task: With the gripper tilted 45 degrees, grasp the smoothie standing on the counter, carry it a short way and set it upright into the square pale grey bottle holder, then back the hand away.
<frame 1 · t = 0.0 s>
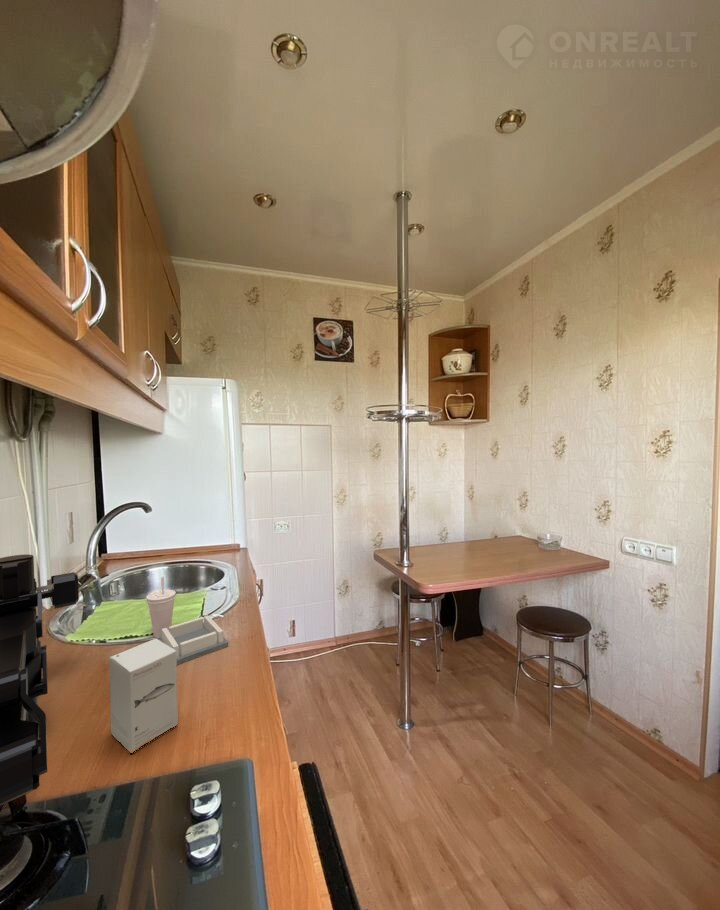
hand: (19, 587, 78), 17 cm above the worktop, tool horizontal, fingers open, 9 cm apart
smoothie: (162, 634, 91), on the worktop
bottle holder: (192, 645, 86), on the worktop
supplement box: (145, 731, 60), on the worktop
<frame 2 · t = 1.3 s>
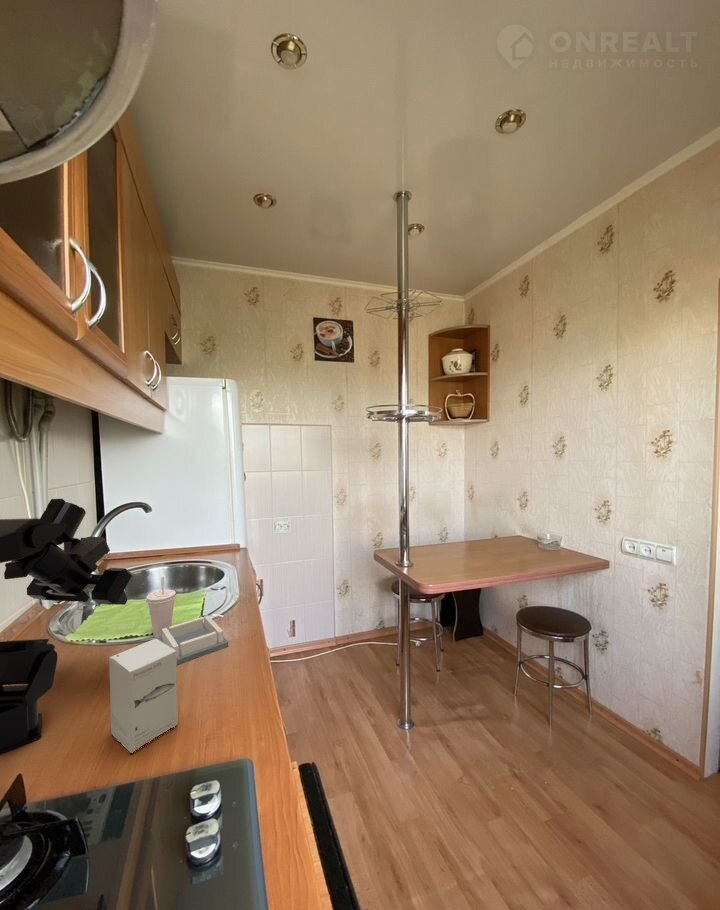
hand: (106, 600, 78), 14 cm above the worktop, tool tilted 45°, fingers open, 9 cm apart
nothing on the worktop moved.
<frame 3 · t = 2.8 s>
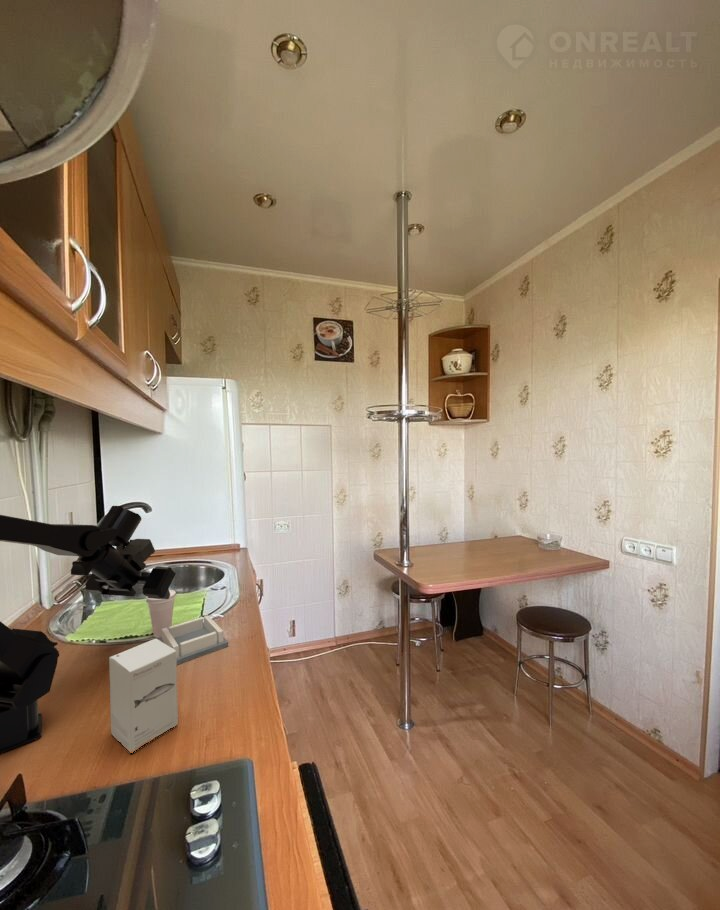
hand: (151, 595, 88), 11 cm above the worktop, tool tilted 45°, fingers open, 9 cm apart
nothing on the worktop moved.
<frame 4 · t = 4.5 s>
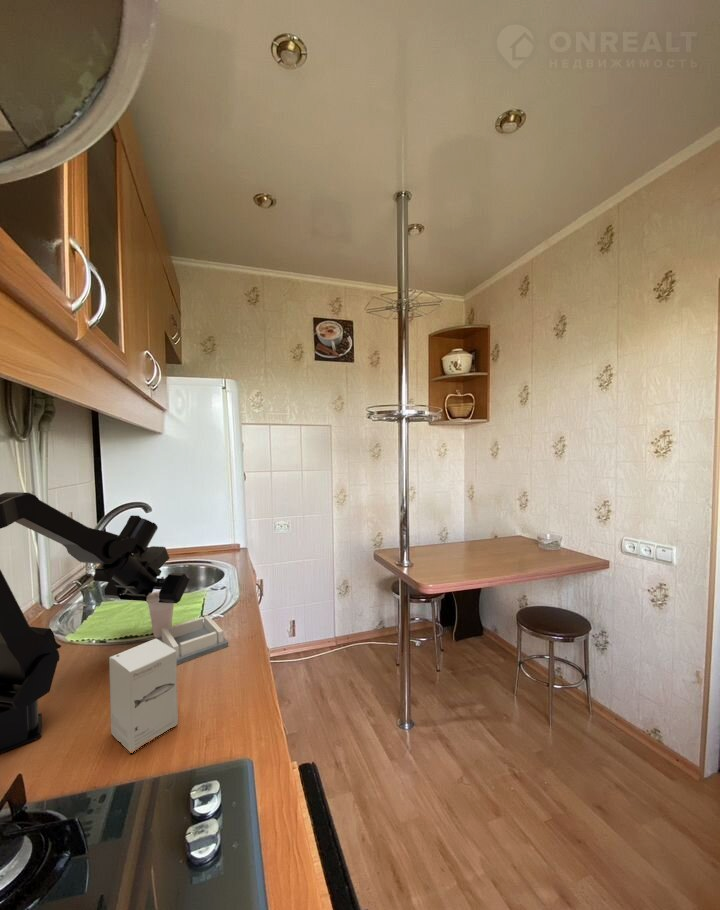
hand: (165, 600, 92), 8 cm above the worktop, tool tilted 45°, fingers closed on smoothie, 6 cm apart
smoothie: (162, 634, 91), on the worktop, touching gripper
everything else where it was.
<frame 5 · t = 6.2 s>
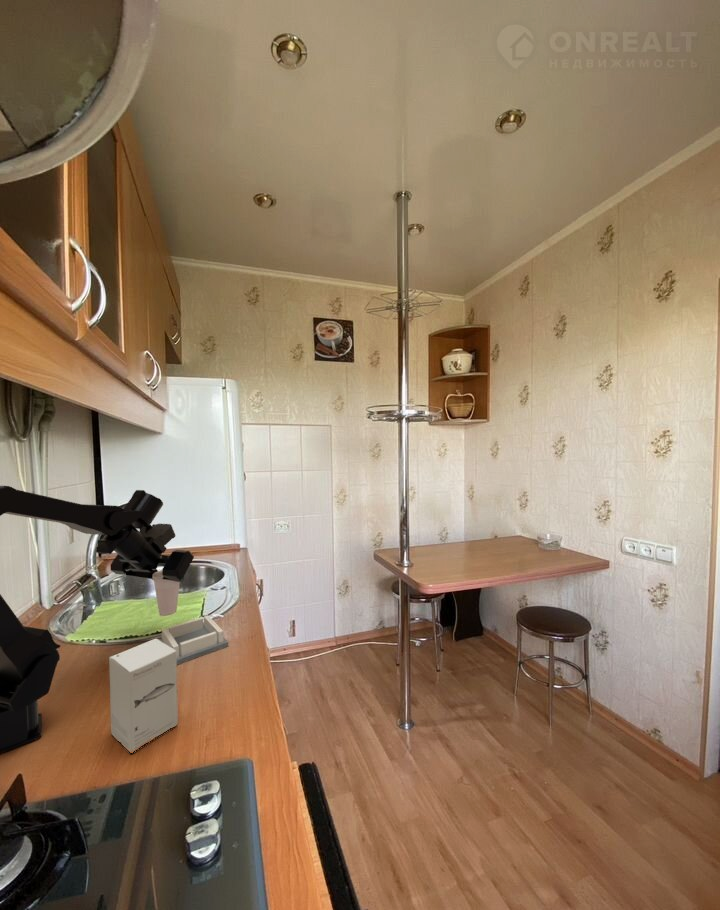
hand: (171, 579, 91), 13 cm above the worktop, tool tilted 45°, fingers closed on smoothie, 6 cm apart
smoothie: (167, 613, 90), point 5 cm above the worktop, touching gripper
everything else where it was.
when the fingers open (10 cm above the worktop, at t = 8.2 s): smoothie drops 1 cm, resting on bottle holder.
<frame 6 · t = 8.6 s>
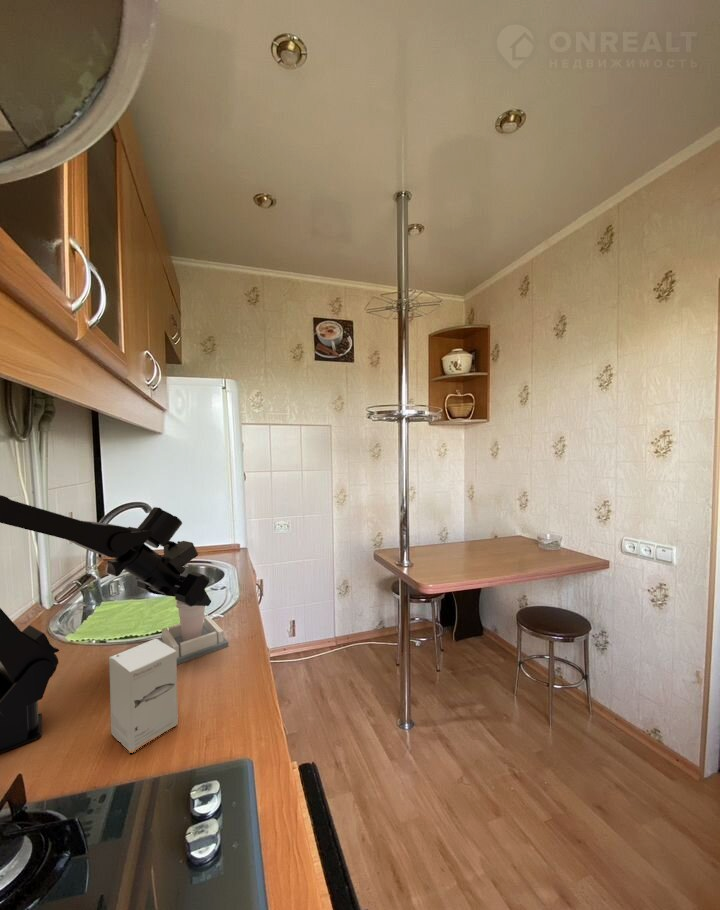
hand: (196, 599, 87), 10 cm above the worktop, tool tilted 45°, fingers open, 9 cm apart
smoothie: (192, 641, 85), point 1 cm above the worktop, touching bottle holder
everything else where it was.
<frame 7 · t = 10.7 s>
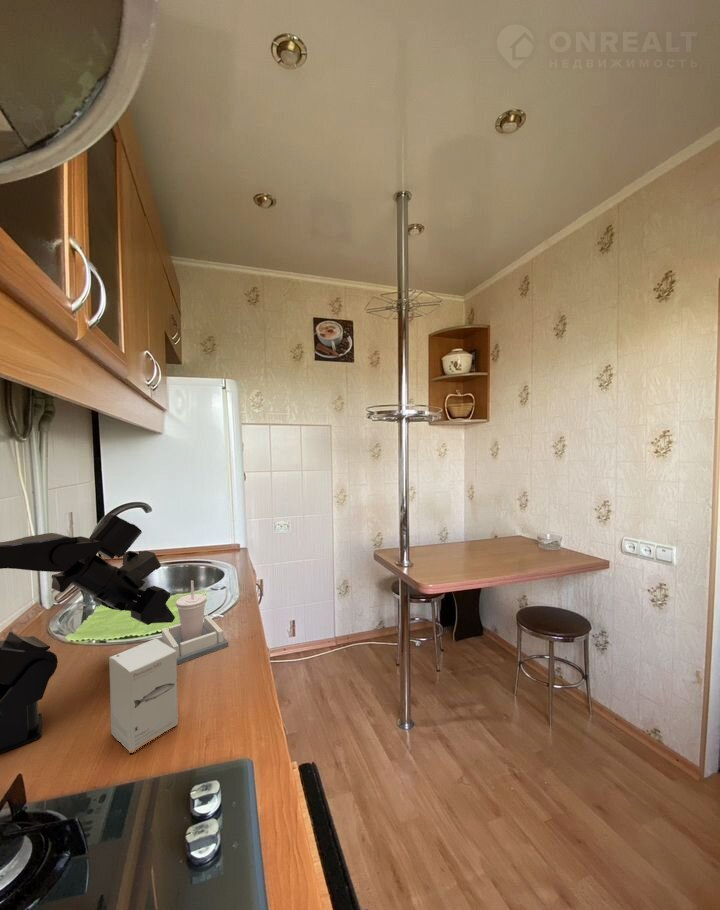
hand: (160, 614, 79), 10 cm above the worktop, tool tilted 45°, fingers open, 9 cm apart
nothing on the worktop moved.
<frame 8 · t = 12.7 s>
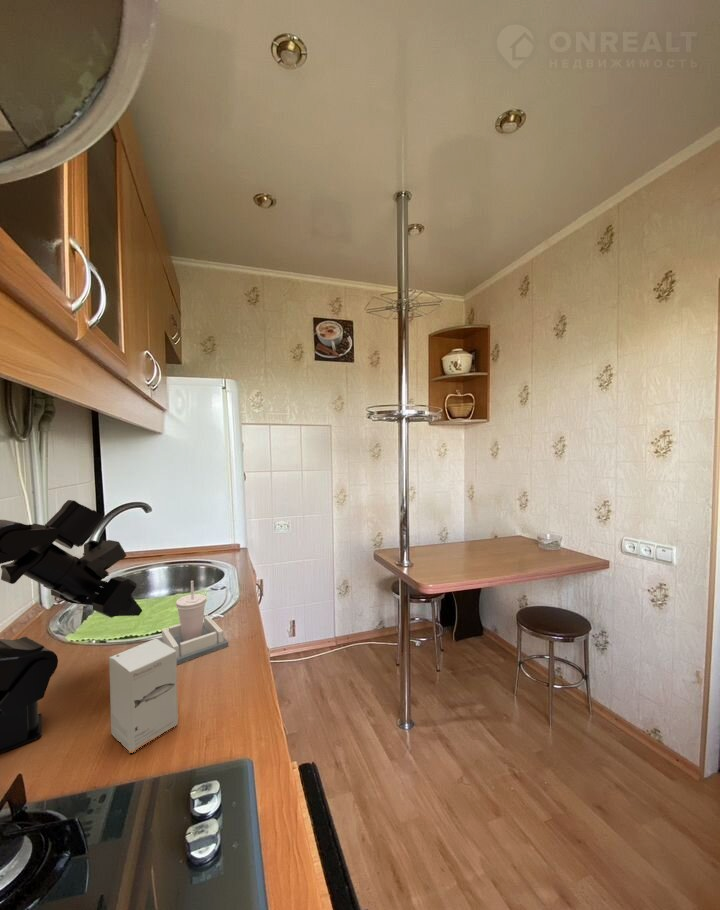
hand: (126, 608, 74), 14 cm above the worktop, tool tilted 45°, fingers open, 9 cm apart
nothing on the worktop moved.
at the end: smoothie 0.2 cm off-centre on the bottle holder, point 0.8 cm above the bottle holder's base; smoothie tilted 0°; the gripper is holding nothing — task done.
